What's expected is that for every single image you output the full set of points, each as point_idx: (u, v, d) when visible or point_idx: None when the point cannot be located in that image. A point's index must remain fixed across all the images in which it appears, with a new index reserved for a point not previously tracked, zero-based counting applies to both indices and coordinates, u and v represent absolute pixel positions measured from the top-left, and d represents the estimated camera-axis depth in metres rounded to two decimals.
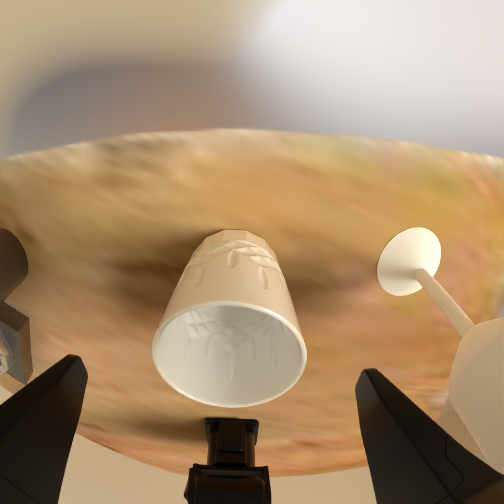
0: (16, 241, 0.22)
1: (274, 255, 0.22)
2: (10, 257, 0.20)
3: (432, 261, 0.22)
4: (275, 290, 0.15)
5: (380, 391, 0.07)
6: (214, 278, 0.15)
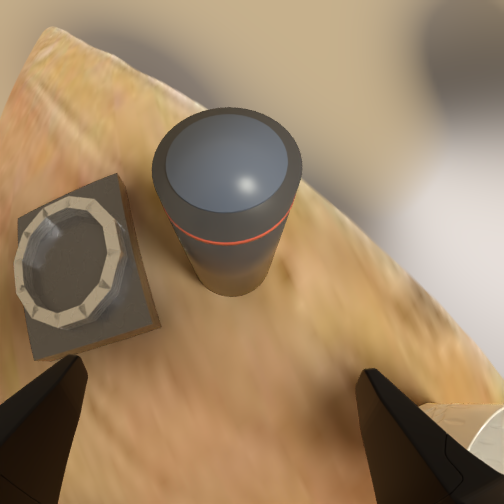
0: None
1: None
2: (269, 267, 0.22)
3: None
4: None
5: (380, 391, 0.07)
6: None
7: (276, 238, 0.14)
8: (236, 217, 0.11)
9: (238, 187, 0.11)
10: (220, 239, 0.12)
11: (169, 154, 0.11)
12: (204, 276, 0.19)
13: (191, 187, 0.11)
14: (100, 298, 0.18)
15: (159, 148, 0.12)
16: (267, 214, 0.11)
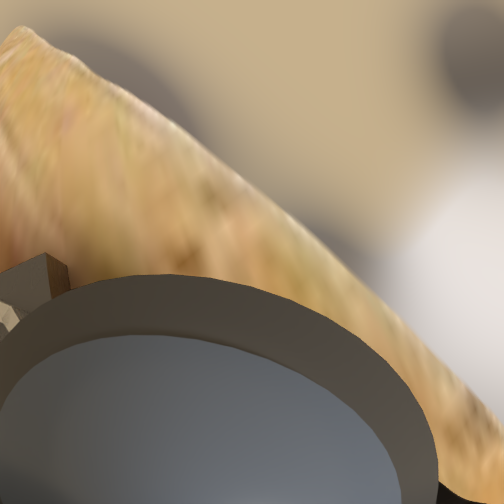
0: None
1: None
2: None
3: None
4: None
5: None
6: None
7: None
8: None
9: None
10: None
11: (1, 476, 0.02)
12: None
13: None
14: None
15: None
16: None
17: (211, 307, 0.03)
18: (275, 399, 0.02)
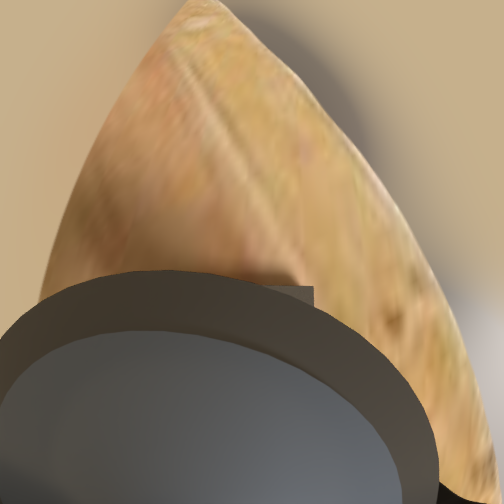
0: None
1: None
2: None
3: None
4: None
5: None
6: None
7: None
8: None
9: None
10: None
11: (0, 474, 0.02)
12: None
13: None
14: None
15: None
16: None
17: (211, 303, 0.03)
18: (275, 395, 0.02)
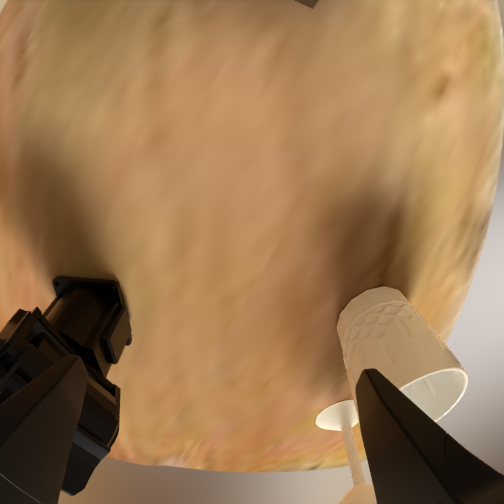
0: None
1: None
2: None
3: None
4: (427, 397, 0.18)
5: (380, 391, 0.07)
6: None
7: None
8: None
9: None
10: None
11: None
12: None
13: None
14: None
15: None
16: None
17: None
18: None
